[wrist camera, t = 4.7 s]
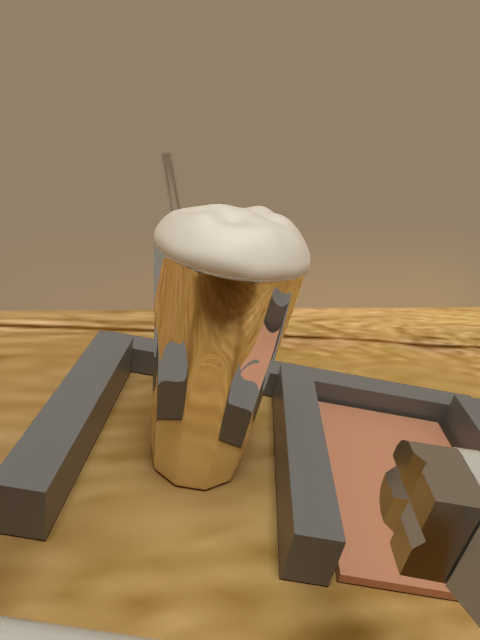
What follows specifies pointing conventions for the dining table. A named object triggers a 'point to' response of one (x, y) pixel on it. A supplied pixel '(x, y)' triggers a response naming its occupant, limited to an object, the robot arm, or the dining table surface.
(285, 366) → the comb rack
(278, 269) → the milkshake
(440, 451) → the robot arm
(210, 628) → the dining table surface
